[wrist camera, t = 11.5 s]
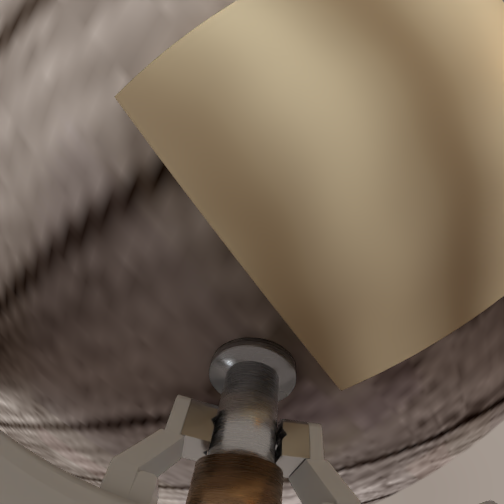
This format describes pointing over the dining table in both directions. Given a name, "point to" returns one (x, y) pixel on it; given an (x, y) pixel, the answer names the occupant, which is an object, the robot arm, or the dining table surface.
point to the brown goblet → (244, 425)
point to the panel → (344, 163)
